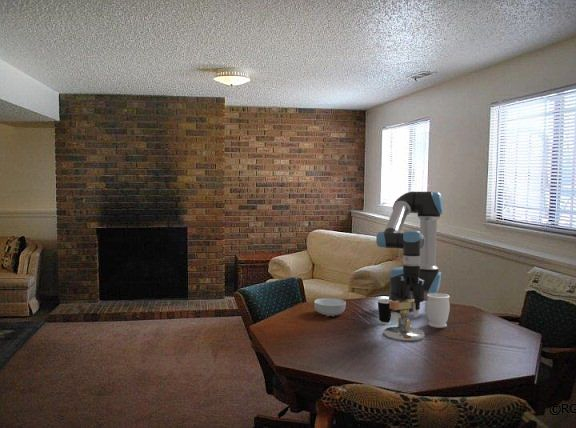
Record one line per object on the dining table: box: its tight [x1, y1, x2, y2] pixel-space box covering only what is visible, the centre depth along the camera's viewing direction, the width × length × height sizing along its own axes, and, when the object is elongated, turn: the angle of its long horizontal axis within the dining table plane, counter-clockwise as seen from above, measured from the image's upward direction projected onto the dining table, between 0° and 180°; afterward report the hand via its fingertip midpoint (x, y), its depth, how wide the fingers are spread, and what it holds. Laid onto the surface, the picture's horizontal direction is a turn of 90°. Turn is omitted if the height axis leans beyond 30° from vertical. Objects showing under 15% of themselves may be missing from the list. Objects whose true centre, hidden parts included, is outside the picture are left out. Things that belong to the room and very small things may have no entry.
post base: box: [383, 316, 425, 343], centre depth 220 cm, size 18×18×8 cm
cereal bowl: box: [313, 297, 347, 317], centre depth 255 cm, size 17×17×7 cm
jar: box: [426, 292, 451, 329], centre depth 235 cm, size 11×10×15 cm
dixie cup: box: [376, 298, 393, 325], centre depth 240 cm, size 8×8×11 cm
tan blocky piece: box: [389, 298, 415, 331], centre depth 219 cm, size 7×13×13 cm, turn 111°
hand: (410, 315), depth 221 cm, fingers closed on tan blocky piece, 5 cm apart
